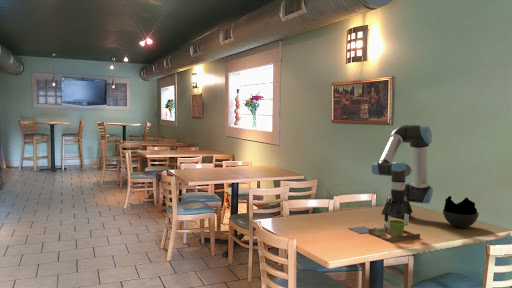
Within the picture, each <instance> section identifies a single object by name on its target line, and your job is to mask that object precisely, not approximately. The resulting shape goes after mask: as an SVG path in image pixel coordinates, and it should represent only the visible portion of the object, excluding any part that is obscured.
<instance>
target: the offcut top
mask: <svg viewBox="0 0 512 288" xmlns="http://www.w3.org/2000/svg"><path fill="white" fill-rule="evenodd" d="M383 227H384V228H385V234H387V235H391V231H390V227H389V228H388V227H385V223H384V224H383Z"/></svg>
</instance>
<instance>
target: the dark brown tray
mask: <svg viewBox="0 0 512 288" xmlns="http://www.w3.org/2000/svg"><path fill="white" fill-rule="evenodd" d="M367 234H369V235H372V236H374V237H376V238H379V239H381V240H384V241H385V242H388V241H389V243H396V242H403V241H411V240H418V239H421V234H420V233H413V232H410V231H408V230H405V229H404V230H403V236H396V237H392V236H390V237H387V236H384V235H380V234H377V233H375V232H373V228H370V229H369V230H368V233H367Z"/></svg>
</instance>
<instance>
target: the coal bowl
mask: <svg viewBox="0 0 512 288" xmlns="http://www.w3.org/2000/svg"><path fill="white" fill-rule="evenodd" d="M444 201H445V203H444V207H443V209H442V213H443V214H442V215H443V216H444V219H445V220H446V221H447V222H448V223H449V224H450V225H451V226H453V227H457V228H460V229H462V228H468V227H471V226H473V225H474V224H475V223H476V221H477V220H478V218H479V216H480V215H479V214H480V213H479V212H478V209H477V207H476V206H475V205H476V203H475V202H474V201H472V200H470V199H469V197H465V198H463V199H462V201H459V202H457V203H456V202H455V201H454V200H452V196H451V195H448V197H447V198H445V200H444Z"/></svg>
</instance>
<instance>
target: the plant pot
mask: <svg viewBox="0 0 512 288" xmlns="http://www.w3.org/2000/svg"><path fill="white" fill-rule="evenodd" d="M405 224H406V222H404V220H398V219H390V231H391V234H390V237H396V236H404V233H403V230H405V226H406V225H405Z"/></svg>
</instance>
